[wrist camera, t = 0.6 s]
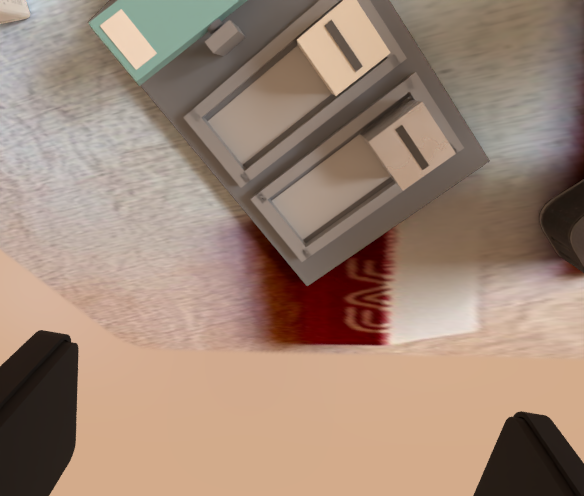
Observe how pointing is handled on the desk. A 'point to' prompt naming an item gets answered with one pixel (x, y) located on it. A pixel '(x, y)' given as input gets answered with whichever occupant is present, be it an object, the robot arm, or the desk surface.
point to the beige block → (408, 143)
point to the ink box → (13, 10)
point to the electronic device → (566, 224)
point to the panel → (306, 129)
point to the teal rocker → (157, 30)
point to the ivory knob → (343, 46)
